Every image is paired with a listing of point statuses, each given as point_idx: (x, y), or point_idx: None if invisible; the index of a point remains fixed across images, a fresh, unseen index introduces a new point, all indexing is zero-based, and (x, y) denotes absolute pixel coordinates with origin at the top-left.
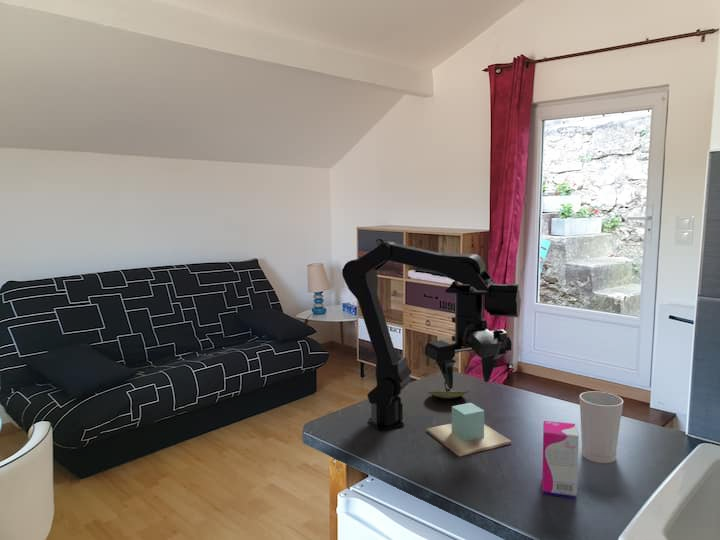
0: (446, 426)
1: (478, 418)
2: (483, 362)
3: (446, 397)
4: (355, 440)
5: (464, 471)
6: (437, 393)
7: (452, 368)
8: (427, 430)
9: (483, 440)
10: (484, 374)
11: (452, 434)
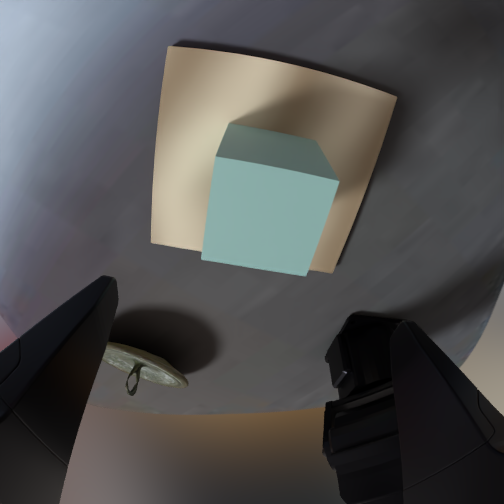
0: None
1: (254, 151)
2: (71, 422)
3: (155, 355)
4: (464, 312)
5: (445, 34)
6: (180, 373)
7: (486, 435)
8: (333, 267)
9: (251, 105)
10: (102, 335)
11: None
